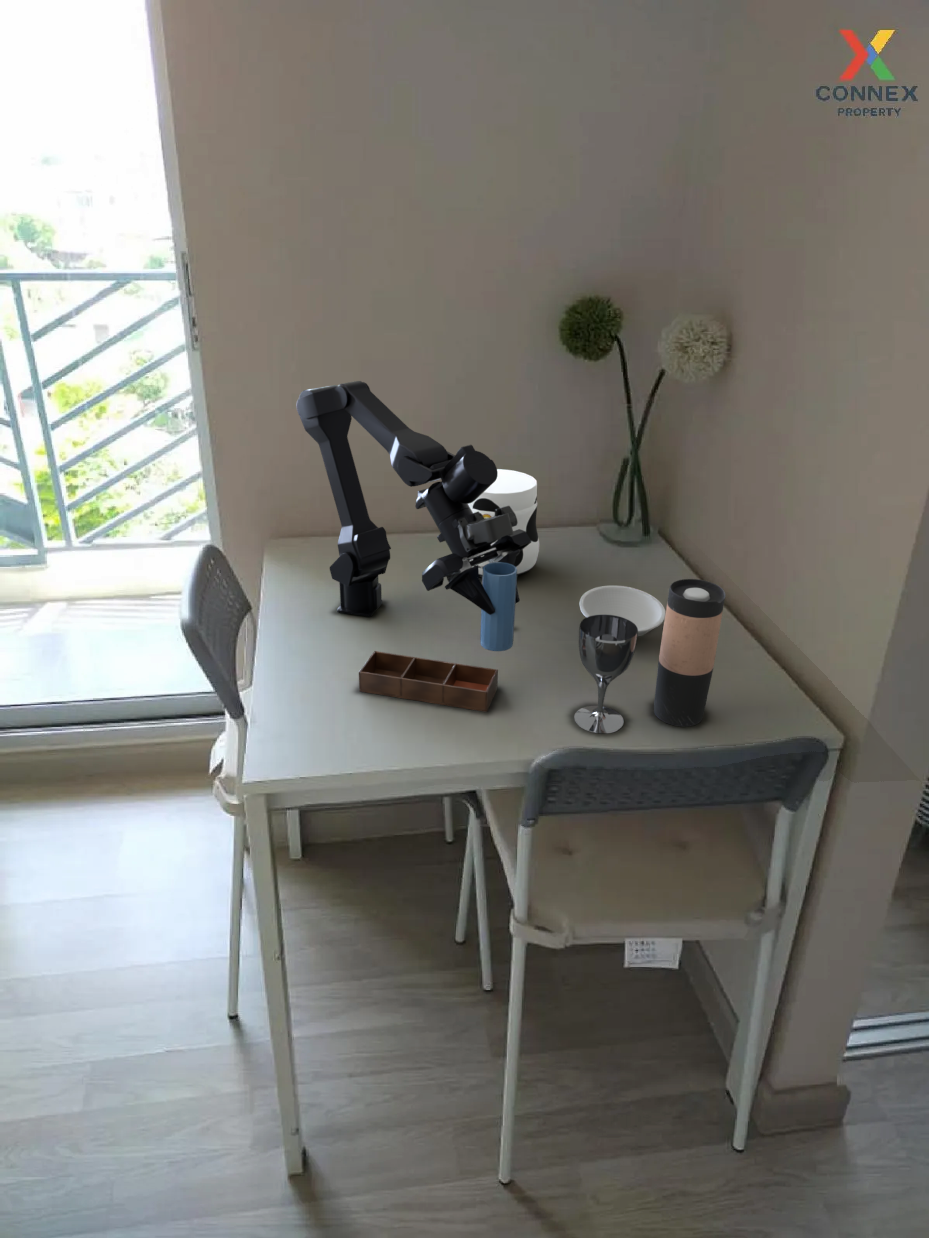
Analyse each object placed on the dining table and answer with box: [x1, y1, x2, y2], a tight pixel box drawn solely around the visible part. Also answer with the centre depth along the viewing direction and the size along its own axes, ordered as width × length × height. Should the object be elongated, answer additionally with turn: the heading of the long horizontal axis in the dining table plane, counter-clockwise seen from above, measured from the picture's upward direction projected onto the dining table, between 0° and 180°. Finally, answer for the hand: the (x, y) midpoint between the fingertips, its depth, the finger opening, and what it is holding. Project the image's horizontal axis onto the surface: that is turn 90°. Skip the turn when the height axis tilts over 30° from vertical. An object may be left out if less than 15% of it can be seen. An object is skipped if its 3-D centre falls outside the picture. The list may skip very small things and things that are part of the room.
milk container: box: [468, 468, 540, 578], centre depth 171 cm, size 17×17×18 cm
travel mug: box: [653, 578, 726, 727], centre depth 124 cm, size 8×8×20 cm
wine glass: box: [573, 615, 639, 734], centre depth 123 cm, size 8×8×15 cm
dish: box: [578, 585, 666, 638], centre depth 149 cm, size 18×14×5 cm
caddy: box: [358, 650, 499, 713], centre depth 132 cm, size 20×7×3 cm, turn 75°
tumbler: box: [479, 562, 518, 652], centre depth 131 cm, size 5×5×12 cm
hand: (505, 608), depth 130 cm, fingers closed on tumbler, 5 cm apart
